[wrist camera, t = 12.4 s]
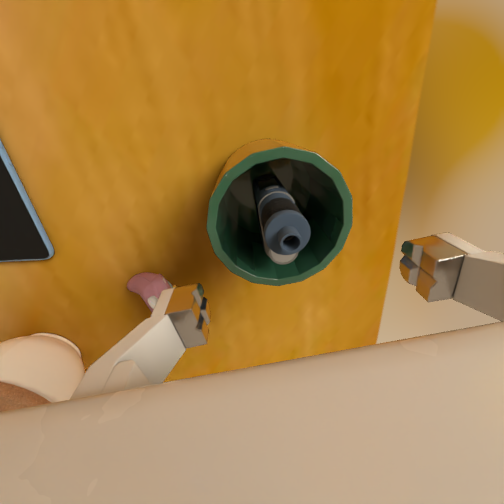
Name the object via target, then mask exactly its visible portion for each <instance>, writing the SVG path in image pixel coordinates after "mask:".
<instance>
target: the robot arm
mask: <svg viewBox="0 0 504 504" xmlns="http://www.w3.org/2000/svg"><path fill="white" fill-rule="evenodd" d="M401 251H402V253H403V254H404V257H403V258H402V259H401V260H400V271H401V275H402V276H403V278H404V279H405V280H406V281H407V282H408V283H409V284H412V285H415V286H416V291H417V292H418V293H419V294H420V295H421V296H422V297H423V298H424V299H425V300H426V301H427V302H433V301H439V300H445V299H451V298H453V300H455V301H458V302H460V303H462V304H464V305H466V306H469V307H471V308H474V309H475V310H478V311H480V312H482V313H484V314H486V315H489V316H491V317H493V318H495V319H498V320H500V321H502V322H497V323H492V324H486V325H481V326H475V327H469V328H464V329H458V330H453V331H448V332H441V333H436V334H430V335H424V336H419V337H413V338H408V339H403V340H397V341H391V342H386V343H380V344H374V345H369V346H363V347H358V348H352V349H347V350H341V351H336V352H330V353H325V354H319V355H314V356H308V357H303V358H297V359H292V360H286V361H281V362H275V363H270V364H264V365H259V366H253V367H248V368H242V369H237V370H231V371H226V372H220V373H215V374H209V375H203V376H198V377H192V378H187V379H181V380H176V381H170V382H165V383H163V381H164V380H165V378H166V377H167V376H168V374H169V373H170V371H171V370H172V369H173V367H174V366H175V364H176V363H177V362H178V360H179V359H180V357H181V356H182V355H183V353H184V352H185V350H186V348H191V347H195V346H200V345H204V344H207V341H208V334H209V329H208V327H207V325H208V324H209V322H210V319H211V311H210V306H209V302H208V300H207V299H206V298H205V297H203V294H204V290H203V287H202V285H201V284H200V283H196V284H191V285H185V286H180V287H176V288H175V287H174V288H169V289H165V290H163V291H162V292H161V294H160V296H159V299H158V301H157V303H156V305H155V308H154V310H153V312H152V314H151V317H150V318H147V319H145V320H144V321H143V322H142V323H140V324H139V325H138V326H137V327H136V328H134V329H133V330H132V331H131V332H130V333H128V334H127V335H126V336H125V337H124V338H123V339H121V340H120V341H119V342H118V343H117V344H115V345H114V346H113V347H112V348H111V349H110V350H108V351H107V352H106V353H105V354H104V355H102V356H101V357H100V358H99V359H98V360H96V361H95V362H94V363H93V364H92V365H91V366H89V368H88V370H87V371H86V373H85V375H84V376H83V378H82V380H81V381H80V383H79V385H78V386H77V388H76V390H75V391H74V393H73V395H72V396H71V398H70V400H65V401H60V402H54V403H48V404H43V405H37V406H32V407H26V408H21V409H15V410H10V411H4V412H0V504H504V253H499V252H494V251H486V252H485V251H483V250H481V249H479V248H478V247H476V246H474V245H472V244H470V243H468V242H466V241H464V240H463V239H460V238H459V237H457V236H455V235H453V234H451V233H447V232H444V233H439V234H435V235H431V236H428V237H423V238H419V239H414V240H410V241H405V242H404V243H403V245H402V250H401Z"/></svg>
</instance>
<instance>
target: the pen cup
mask: <svg viewBox="0 0 504 504" xmlns="http://www.w3.org/2000/svg"><path fill="white" fill-rule="evenodd" d="M263 175H273V176H275V175H276V176H277V178H278V179H279V180H280V182H281V183H282V185H283V186H284V187H285V189H286V190H287V192H288V193H289V194H290V195H291V196H292V198H293V199H294V202H295V205H296V206H297V207H298V209H299V210H300V212H301V213H302V215H303V216H304V217H305V219H306V220H307V222H308V224H309V226H310V230H311V233H310V239H309V241H308V243H307V244H306V246H305V247H304V248H303V249H302V250H300V251H299V252H298V255H297V257H296V258H295V260H293V261H292V262H290V263H288V264H277V263H275V262H273V261H272V260H271V258H270V257H269V256H268V255H267V254H266V252H265V250H264V248H263V244H262V239H261V233H260V228H259V223H260V221H259V223H258V217H257V211H256V205H255V199H254V197H255V193H254V188H253V181H254V179H255V180H256V179H257V178H258V177H260V176H263ZM300 212H299V213H300ZM351 227H352V195H351V193H350V191H349V189H348V187H347V185H346V183H345V181H344V178H343V176H342V174H341V172H340V171H339V170H338V169H337V168H335V167H334V166H333V165H332V164H330V163H329V162H328V161H326V160H325V159H324V158H323V157H321V156H320V155H319V154H317V153H315V152H313V151H310V150H308V149H305V148H302V147H299V146H297V145H294V144H291V143H288V142H283V141H279V140H274V139H261V140H256V141H253V142H250V143H248V144H246V145H244V146H242V147H241V148H239V149H238V150H237V151H235V152H234V153H233V154H232V155H231V156H230V157H229V159H228V160H227V162H226V163H225V165H224V167H223V169H222V171H221V173H220V175H219V177H218V180H217V182H216V185H215V187H214V190H213V192H212V195H211V197H210V200H209V206H208V216H207V225H206V228H207V232H208V235H209V238H210V241H211V244H212V247H213V250H214V253H215V254H216V255H217V257H218V258H219V259H220V260H221V261H222V262H223V263H224V265H225V266H226V267H227V268H228V269H229V270H230V271H231V272H232V273H234V274H236V275H238V276H240V277H242V278H244V279H246V280H248V281H250V282H252V283H257V284H265V285H273V286H281V285H286V284H291V283H296V282H301V281H303V280H305V279H307V278H309V277H310V276H312V275H314V274H316V273H318V272H319V271H321V270H323V269H324V268H326V266H327V265H328V264H329V263H330V262H331V261H332V260H333V259H334V258H335V257H336V256H337V254H338V253H339V252H340V251H341V250H342V249H343V246H344V244H345V241H346V239H347V237H348V234H349V232H350V229H351Z"/></svg>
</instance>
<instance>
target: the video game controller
mask: <svg viewBox="0 0 504 504" xmlns="http://www.w3.org/2000/svg"><path fill="white" fill-rule="evenodd" d="M174 287H175V288H176V287H177V286H176V285H175V284H174V285H172V284H171V283H170V282H169V281H167V280H166V279H165V278H164V277H163V276H162V275H161V274H154V273H140V274H137V275H135V276H133V277H132V278H131V279H130V280H129V282H128V283H127V288H128V290H130V291H132V292H135V293H138V294H139V295H140V296H141V297H142V299H143V300H144V302H145V303H146V305H147V306H148V308H149V309H150V310H151V312H153V310H154V308H155V305H156V303H157V301H158V299H159V296H160V294H161V292H162V291H163V290H165V289H169V288H174Z"/></svg>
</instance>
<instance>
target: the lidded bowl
mask: <svg viewBox="0 0 504 504" xmlns="http://www.w3.org/2000/svg"><path fill="white" fill-rule="evenodd" d="M84 375H85V370H84V365H83V362H82V359H81V352H80V350H79V349H78V347H77V346H76V345H75V344H74V343H72V342H71V341H69V340H68V339H66V338H64V337H61V336H58V335H55V334H50V333H36V334H32V335H30V336H23V337H17V338H13V339H9V340H6V341H3V342H1V343H0V412H4V411H10V410H15V409H21V408H26V407H32V406H37V405H43V404H48V403H54V402H60V401H65V400H70V398H71V396H72V395H73V393H74V391H75V390H76V388H77V386H78V385H79V383H80V381H81V380H82V378H83V376H84Z"/></svg>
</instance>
